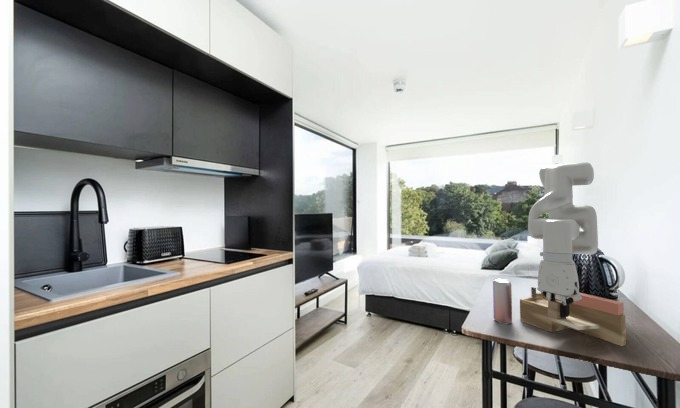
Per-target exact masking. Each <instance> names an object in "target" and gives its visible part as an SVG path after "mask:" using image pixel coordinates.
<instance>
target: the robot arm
mask: <svg viewBox="0 0 680 408" xmlns="http://www.w3.org/2000/svg"><path fill="white" fill-rule="evenodd" d="M538 172H539V173H538V174H539V180H540V183H541V184H542V186H543V188H544V191H543V194H544V195H543V196H542V197H540V198H539V199H538V200H537V201H535V203H534V204H533V205H532V207H531V208H530V209H529V212H528V221H527V231H528V235H529V236H530V237H531V238H533V239H536V240H542V251H540V252H539V255H540V257H542V259H541V260H540V261H539V262H540V263H539V266H538V271H537V273H538V274H537V287H536V291H538V292H539V293H543V295H544V296H545V297H546V299H547V301H556V300H555V298H557V299H561V300H562V304H561V305H560V316H561V317H562V318H565V317H568V316H569V314H570V312H569V305H570V304H571V303H573V302H574V301H579V300H582V297H581V295H580V293H581V292H580V283H579V275H578V270H577V267H576V262H575V261H574V259H573V255H586V256H587V255H588V256H590V255H595V254H596V253H597V252H598V250H599V236H598V235H599V232H598V231H599V230H598V216H597V212H596V209H595V208H594V206H592V205H587V204H573V199H574V194H573V186H589V185H591V184H592V183H593V181H594V178H595V171H594V168H593V166H592V164H591V162H587V161H586V162H574V163H572V162H571V163H562V164H561V163H560V164H559V163H558V164H551V165H546V166H543V167H541V168H540V169H539V171H538ZM547 212H548V213H547ZM545 213H547V214H548V215H547V216H548V217H540V216H541V215H543V214H545ZM580 229H582V230H583V231H581V230H580ZM579 292H580V293H579ZM571 295H574V297H571Z"/></svg>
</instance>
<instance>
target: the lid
mask: <svg viewBox="0 0 680 408" xmlns="http://www.w3.org/2000/svg"><path fill="white" fill-rule="evenodd" d="M561 304H562V302H561V301H548V320H550V321H553V322H556V323H559V324H562V325H565V326H568V327H571V328H574V329H577V330H585V329H597V328H599V325H598V324H594V323H591V322H588V321H584V320H581V319H578V318H574V317H571V316H568V317H565V318H562V317H561V316H560V305H561Z"/></svg>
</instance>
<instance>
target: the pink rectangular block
mask: <svg viewBox="0 0 680 408" xmlns="http://www.w3.org/2000/svg"><path fill="white" fill-rule="evenodd" d="M579 293H580V295H581V297H582V300H579V301H574V302H573V304H577V305H580V306H584V307H588V308H592V309H595V310H599V311H603V312H607V313H610V314H614V315H618V316H619V315H622V314H623V315H625V313H624V312H625V311H624V308H625V306H624V302H623V301H622V302H621V301H618V300H614V299H610V298H606V297H600V296H596V295H592V294H587V293H584V292H583V293H582V292H580V291H579ZM571 297H574V295H571Z"/></svg>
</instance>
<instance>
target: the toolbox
mask: <svg viewBox="0 0 680 408" xmlns="http://www.w3.org/2000/svg"><path fill="white" fill-rule="evenodd" d="M530 289H531V290H530V292H531V293H530V294H531V296H529V297H523V298H519V314H520V315H519V321H520V322H523V323H525V324H528V325H531V326H533V327H536V328H538V329H542V330H544V331H547V332H549V333H554V332H558V331H562V330H565V329H566V330H567V329H570V330H574V331H577V332H579V333H583V334H585V335H588V334H589V335H588V336H591V335H592V336H591V337H594V336H595V337H594V338H597V339H599V338H600V339H599V340H602V339H603V341H606V342H608V343H611V344H615V345H618V346H620V347H623V346H626V345H627V339H626V338H627V335H626V334H627V333H626V330H627V329H626V314H622V315H619V316H618V315H614V314H610V313H607V312H603V311H599V310H595V309H592V308H588V307H584V306H580V305H577V304H573V303H571V304H570V305H569V312H570V314H569V316H571V317H574V318H578V319H581V320H584V321H588V322H591V323H594V324H598V325H599V328H597V329H585V330H577V329H574V328H571V327H568V326H565V325H562V324H559V323H556V322H553V321H550V320H548V301H547V299H546V297H545V296H544V295H543V293H541V292H537V287H534V286H532V287H531V288H530ZM555 300H556V301H561V302H562V300H561V299H557V298H555Z"/></svg>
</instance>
